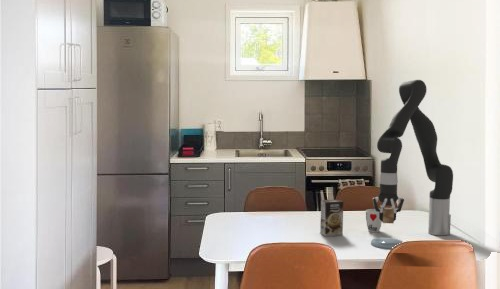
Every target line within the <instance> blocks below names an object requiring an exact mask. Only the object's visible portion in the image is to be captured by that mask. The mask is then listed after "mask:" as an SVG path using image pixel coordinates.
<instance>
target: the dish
mask: <svg viewBox="0 0 500 289" xmlns="http://www.w3.org/2000/svg"><path fill="white" fill-rule="evenodd" d="M402 242H404V241H403V240H401V239H398V238H392V237H375V238H372V239H371V241H370V245H371V246H373V247H375V248H379V249H385V250H392V249H391V248H392V247H394V246H395V245H397V244H399V243H402Z"/></svg>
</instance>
